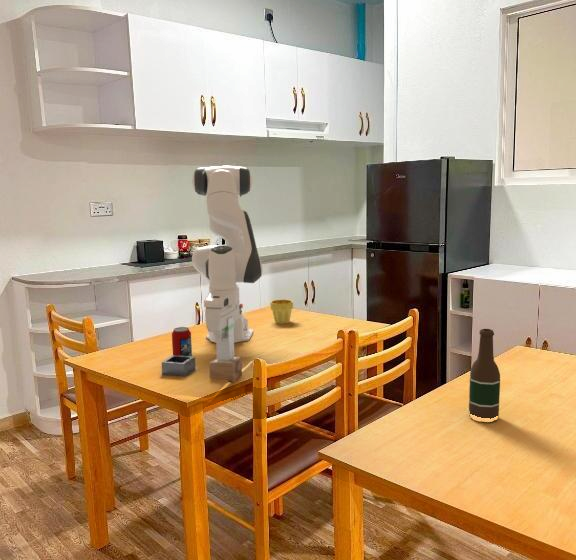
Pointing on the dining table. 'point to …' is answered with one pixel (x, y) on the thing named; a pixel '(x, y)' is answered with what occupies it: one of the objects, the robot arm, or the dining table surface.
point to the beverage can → (181, 341)
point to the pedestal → (226, 369)
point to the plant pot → (281, 310)
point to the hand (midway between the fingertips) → (224, 338)
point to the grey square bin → (178, 366)
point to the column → (226, 342)
